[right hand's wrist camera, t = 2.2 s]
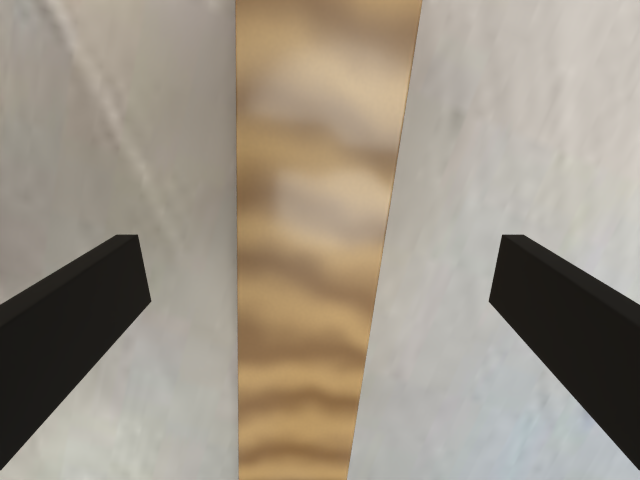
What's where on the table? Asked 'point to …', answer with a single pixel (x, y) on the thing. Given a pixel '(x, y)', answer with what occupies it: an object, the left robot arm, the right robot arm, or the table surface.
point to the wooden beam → (312, 218)
